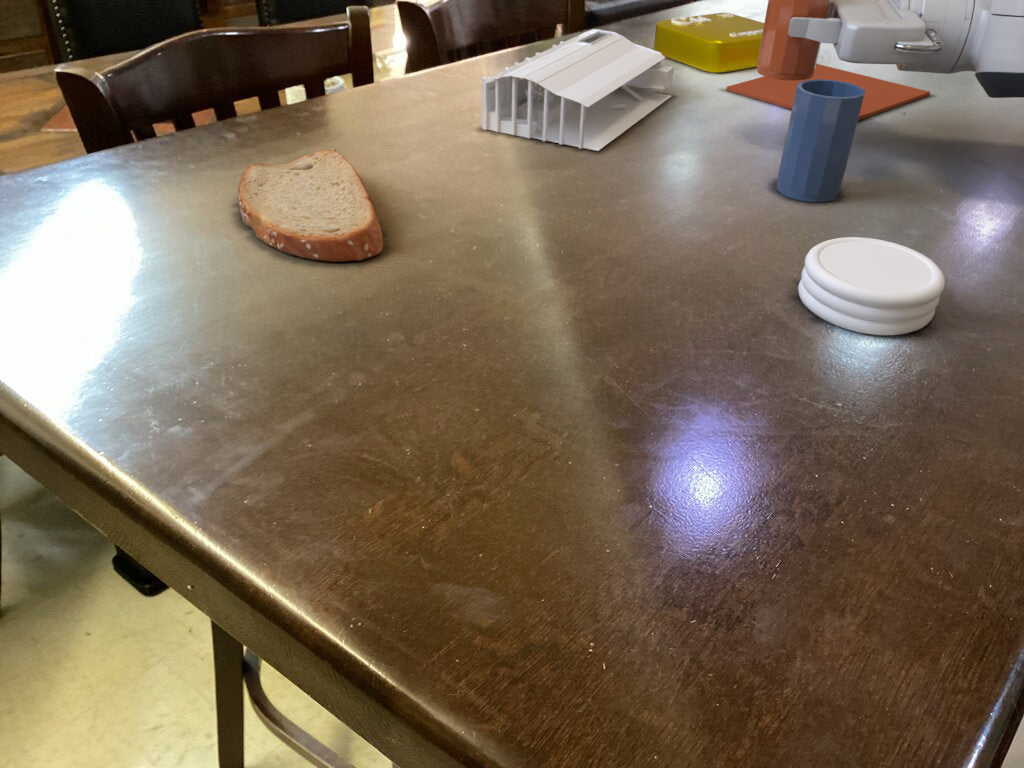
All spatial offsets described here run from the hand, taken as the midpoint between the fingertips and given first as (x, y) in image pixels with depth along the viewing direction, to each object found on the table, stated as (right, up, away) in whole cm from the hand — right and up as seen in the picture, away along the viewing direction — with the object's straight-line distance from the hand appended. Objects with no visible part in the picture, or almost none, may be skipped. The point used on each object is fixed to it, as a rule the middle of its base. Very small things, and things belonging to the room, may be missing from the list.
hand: (786, 17), depth 86 cm
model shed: (-20, -5, +15) cm, 26 cm away
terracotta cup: (+1, -5, +3) cm, 6 cm away
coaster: (-2, -33, -22) cm, 39 cm away
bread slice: (-47, -23, -10) cm, 53 cm away
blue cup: (+1, -19, -4) cm, 20 cm away
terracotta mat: (+13, 0, +23) cm, 27 cm away
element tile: (+2, +11, +38) cm, 39 cm away
